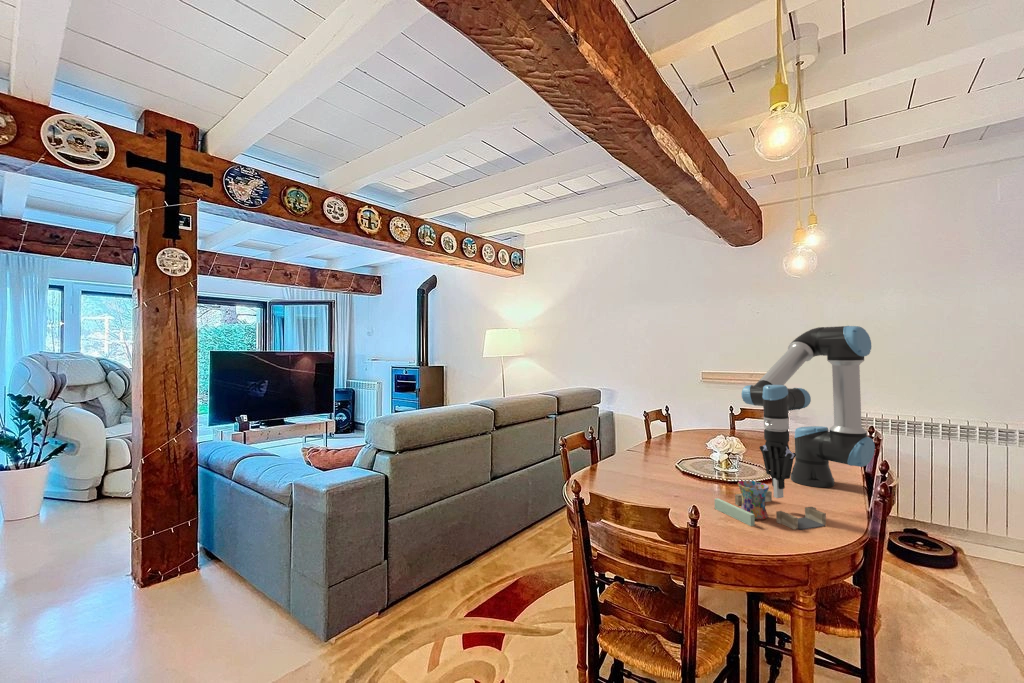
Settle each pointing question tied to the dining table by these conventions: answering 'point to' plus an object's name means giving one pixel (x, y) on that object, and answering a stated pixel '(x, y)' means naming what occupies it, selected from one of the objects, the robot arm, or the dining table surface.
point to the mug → (754, 498)
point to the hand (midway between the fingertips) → (778, 497)
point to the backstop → (735, 512)
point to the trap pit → (808, 524)
